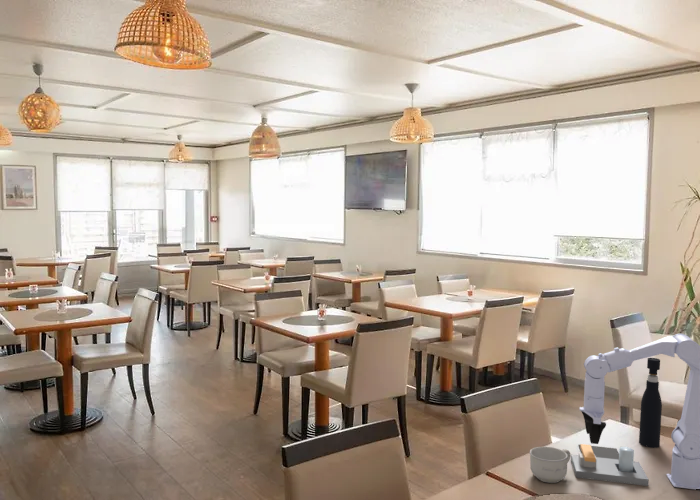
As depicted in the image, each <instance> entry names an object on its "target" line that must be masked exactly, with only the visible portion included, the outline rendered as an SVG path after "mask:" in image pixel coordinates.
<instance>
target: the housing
mask: <svg viewBox="0 0 700 500" xmlns="http://www.w3.org/2000/svg"><path fill="white" fill-rule="evenodd" d="M570 454H571V453H570ZM594 455H595V454H594ZM595 458H596V462H589V461H585V460H584V457H583V454H582V453H581V452H578V454H571V457H570V461H571V462H570V463H571V465H572V468H573V471H574V476H575V478H579V479H588V480H595V481H602V482H603V481H604V482H612V483H619V484H628V485H636V486H637V485H638V486H643V487H648V486H649V480H650V479H649V478H648V476H647V474H646V472H645V470H644V469H643V466H642V465H641V463H640V461H636V460H635V461H634V460H633V473H631V472H622V471H618V467H619V460H618V459H609V458H600V457H596V456H595Z"/></svg>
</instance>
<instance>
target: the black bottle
mask: <svg viewBox="0 0 700 500" xmlns="http://www.w3.org/2000/svg"><path fill="white" fill-rule="evenodd" d="M646 365H647V366H646V369H647V370H648V375H647V377H646V378H647V380H646V383H645V390H644V391H643V394H642V396H641V400H640V412H639V413H640V415H639V431H638V432H639V435H638V443H639V444H640V445H641V446H643V447H645V448H648V449H649V448H650V449H658V448H659V447H660V445H661V427H662V411H663V409H662V408H663V403H662V397H661V394H660V391H659V387H660V386H659V385H660V383H659V376H658V371H659V370H661V369H660V368H661V359H659V358H656V357H647V364H646Z"/></svg>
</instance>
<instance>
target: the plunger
mask: <svg viewBox="0 0 700 500" xmlns="http://www.w3.org/2000/svg"><path fill="white" fill-rule="evenodd" d="M591 446H592V445H591V444H584V443H580V448H581V451H582V454H583V457H584V460H585V461H589V462H596V458H595V455H594V453H593V450H592V448H591ZM580 448H579V449H580ZM581 451H580V452H581Z"/></svg>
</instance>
